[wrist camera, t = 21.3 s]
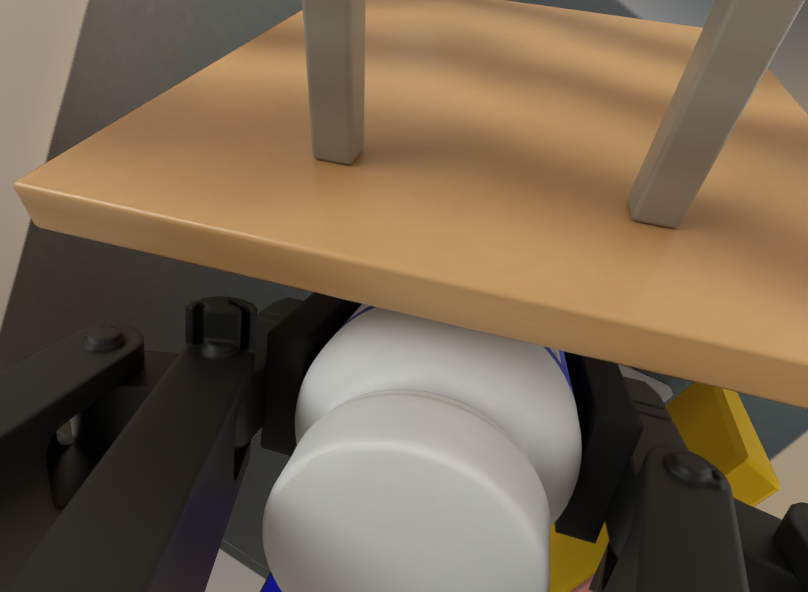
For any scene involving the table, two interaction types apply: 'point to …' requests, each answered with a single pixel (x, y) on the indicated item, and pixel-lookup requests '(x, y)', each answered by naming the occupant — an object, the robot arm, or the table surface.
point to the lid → (487, 178)
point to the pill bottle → (424, 462)
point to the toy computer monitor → (703, 435)
